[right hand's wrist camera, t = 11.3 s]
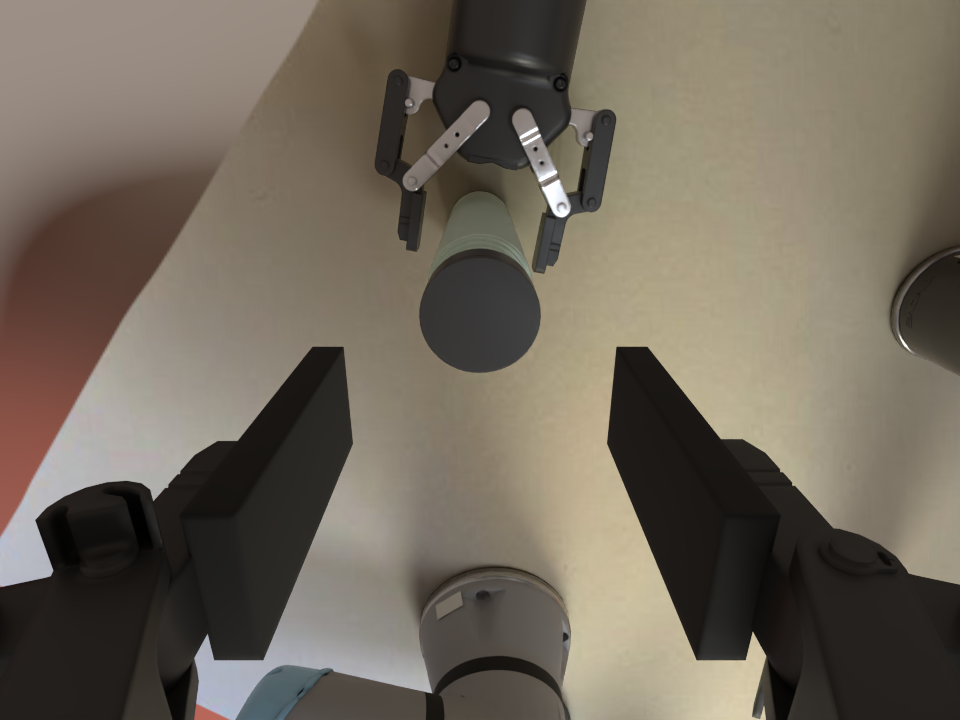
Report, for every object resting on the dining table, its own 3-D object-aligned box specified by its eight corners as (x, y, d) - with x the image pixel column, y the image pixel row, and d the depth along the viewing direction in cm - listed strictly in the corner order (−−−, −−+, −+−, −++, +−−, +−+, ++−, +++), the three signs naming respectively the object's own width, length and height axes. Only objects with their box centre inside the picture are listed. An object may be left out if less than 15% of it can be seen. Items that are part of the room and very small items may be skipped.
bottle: (505, 255, 44) (531, 377, 22) (447, 248, 43) (413, 364, 21) (514, 195, 42) (551, 260, 20) (453, 187, 42) (423, 244, 20)
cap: (526, 362, 23) (530, 379, 21) (419, 350, 23) (414, 366, 21) (544, 255, 21) (550, 265, 20) (429, 240, 21) (424, 249, 19)
